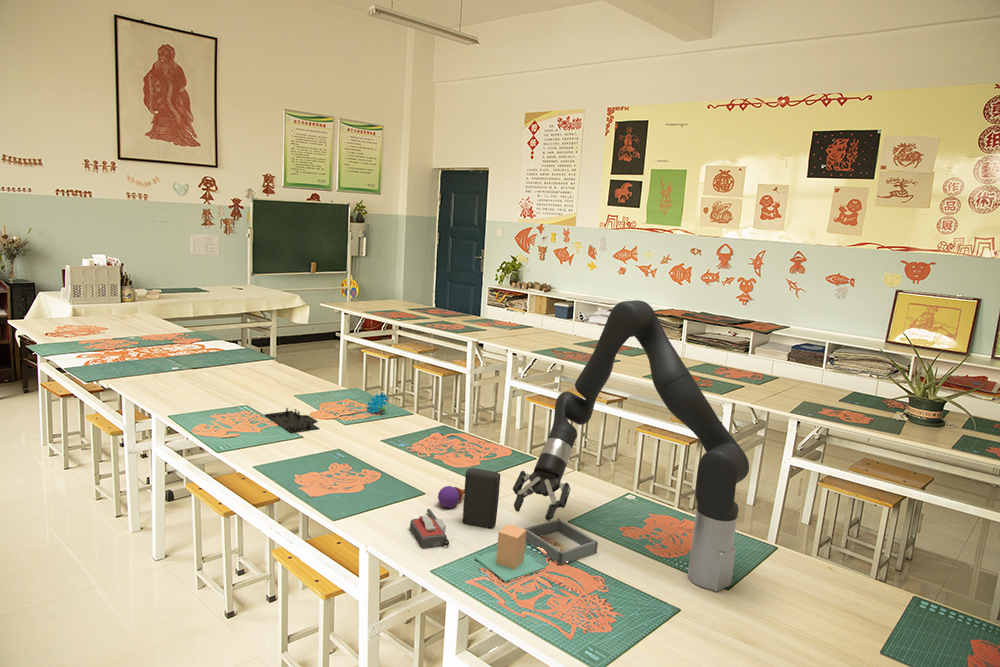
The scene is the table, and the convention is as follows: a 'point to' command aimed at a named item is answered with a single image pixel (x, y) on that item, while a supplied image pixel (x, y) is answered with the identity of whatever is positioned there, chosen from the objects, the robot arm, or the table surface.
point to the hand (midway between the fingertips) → (531, 515)
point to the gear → (377, 404)
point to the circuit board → (293, 421)
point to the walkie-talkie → (429, 531)
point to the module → (511, 546)
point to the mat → (508, 573)
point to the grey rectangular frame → (586, 542)
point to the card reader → (481, 497)
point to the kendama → (450, 496)
